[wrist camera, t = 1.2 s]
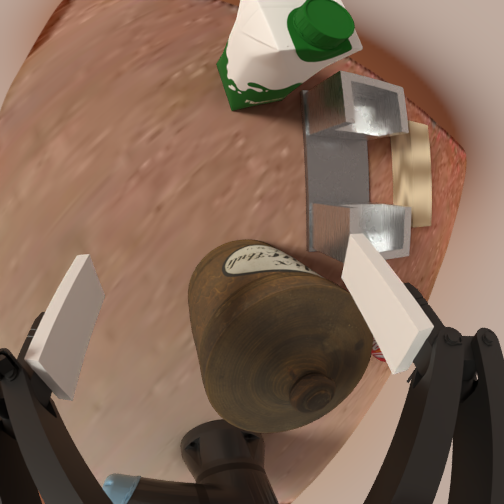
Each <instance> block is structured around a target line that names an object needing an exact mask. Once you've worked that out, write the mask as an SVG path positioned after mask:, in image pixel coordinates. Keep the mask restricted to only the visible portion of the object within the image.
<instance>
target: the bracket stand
mask: <svg viewBox="0 0 504 504" xmlns="http://www.w3.org/2000/svg"><path fill="white" fill-rule="evenodd" d="M300 96H301V109H302V123H303V139H304V157H305V181H306V220H307V251H308V252H313V251H319V252H321V253H323V254H325V255H328V256H330V257H332V258H334V259H336V260H339V261H341V262H343V263H344V262H345V257H346V252H347V247H348V242H349V236H350V234H361V233H363V234H364V235H365V236H366V238H367V239H368V240H369V241H370V242H371V244H372V245H373V246H374V247H375V248H376V250H377V251H378V252H379V253H380V255H381V256H382V257H383V258H384V260H386V259H393V258H399V257H405V256H409V250H410V235H411V207H407V206H400V205H392V204H383V203H374V202H369V171H368V150H367V140H372V139H378V138H383V137H389V136H394V135H400V134H407V133H409V130H408V121H407V112H406V104H405V97H404V91H403V88H402V87H399V86H396V85H393V84H390V83H386V82H383V81H380V80H376V79H373V78H369V77H365V76H361V75H357V74H353V73H349V72H344V71H339V72H337V73H336V74H334V75H332V76H331V77H329V78H328V79H326V80H325V81H323V82H321V83H320V84H318V85H317V86H315V87H314V88H312V89H311V90H309V91H307V90H302V91H300Z"/></svg>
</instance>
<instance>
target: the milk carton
mask: <svg viewBox="0 0 504 504" xmlns="http://www.w3.org/2000/svg"><path fill="white" fill-rule="evenodd" d="M362 48H363V47H362V45H361V42H360V40H359V38H358V35H357V33H356V31H355V27H354V21H353V19H352V17H351V15H350V14H349V13H348V12H347V10H346V9H345V7H344V5H343V3H342V1H341V0H241V1H240V5H239V10H238V14H237V19H236V22H235V24H234V26H233V29H232V31H231V34H230V36H229V39H228V41H227V44H226V47H225V49H224V52H223V54H222V56H221V57H220V59H219V61H218V62H217V64H216V65H217V68H218V71H219V74H220V77H221V80H222V83H223V86H224V89H225V92H226V95H227V98H228V101H229V104H230V107H231V110H232V111H234V110H238V109H242V108H247V107H251V106H256V105H261V104H266V103H271V102H276V101H282V100H283V99H284V98H285V97H286V96H287V95H288V94H289V93H291V92H292V91H293V90H295V89H296V88H297V87H298V86H300V85H301V84H302V83H304V82H305V81H306V80H308V79H309V78H310V77H312V76H313V75H314V74H316V73H317V72H319V71H320V70H321V69H323V68H325V67H327V66H329V65H331V64H333V63H335V62H337V61H339V60H341V59H343V58H345V57H347V56H349V55H351V54H353V53H355V52H357V51H360V50H362Z"/></svg>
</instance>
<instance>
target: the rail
mask: <svg viewBox="0 0 504 504" xmlns="http://www.w3.org/2000/svg"><path fill="white" fill-rule="evenodd" d="M408 130H409V133H407V134H400V135H394V136H390V139H391V151H392V169H393V205H400V206H407V207H411V227H423V226H431V213H432V181H431V158H430V145H429V134H428V125H424V124H421V123H417V122H413V121H408Z"/></svg>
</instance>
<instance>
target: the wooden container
mask: <svg viewBox="0 0 504 504" xmlns="http://www.w3.org/2000/svg"><path fill="white" fill-rule="evenodd" d="M188 303H189V313H190V321H191V328H192V333H193V338H194V342H195V346H196V350H197V355H198V359H199V364H200V370H201V375H202V380H203V384H204V388H205V391H206V394H207V397H208V399H209V401H210V403H211V405H212V407H213V408H214V409H215V411H216V412H217V413H218V414H219V415H220V416H221V417H222V418H223V419H224V420H225V421H227V422H228V423H230V424H232V425H234V426H236V427H238V428H240V429H243V430H247V431H251V432H258V433H276V432H284V431H289V430H292V429H296V428H299V427H302V426H305V425H307V424H309V423H311V422H313V421H315V420H317V419H319V418H321V417H323V416H324V415H326V414H327V413H329V412H330V411H331V410H333V409H334V408H335V407H337V406H338V405H339V404H340V403H341V402H342V401H343V400H344V399H345V398H346V397H347V396H348V395H349V394H350V393H351V392H352V391H353V389H354V388H355V387H356V385H357V384H358V383H359V381H360V380H361V378H362V376H363V374H364V372H365V370H366V368H367V366H368V363H369V361H370V357H371V352H372V348H373V334H372V332H371V330H370V328H369V327H368V325H367V323H366V321H365V319H364V317H363V315H362V314H361V312H360V310H359V308H358V306H357V304H356V303H355V301H354V299H353V297H352V295H351V294H350V293H349V292H347V291H346V290H345V289H343V288H341V287H340V286H338V285H336V284H335V283H333V282H331V281H329V280H327V279H325V278H323V277H322V276H320V275H319V274H317V273H316V272H314V271H313V270H311V269H309V268H308V267H307V266H305V265H303V264H302V263H301V262H299V261H297V260H296V259H294V258H293V257H291V256H289V255H287V254H285V253H284V252H282V251H280V250H278V249H276V248H275V247H273V246H271V245H269V244H267V243H264V242H260V241H256V240H237V241H232V242H229V243H226V244H223V245H221V246H219V247H217V248H215V249H214V250H212V251H211V252H210V253H209V254H207V255H206V256H205V257H204V258H203V259H202V260H201V262H200V263H199V264H198V266H197V267H196V269H195V271H194V272H193V275H192V277H191V280H190V283H189V289H188Z"/></svg>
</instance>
